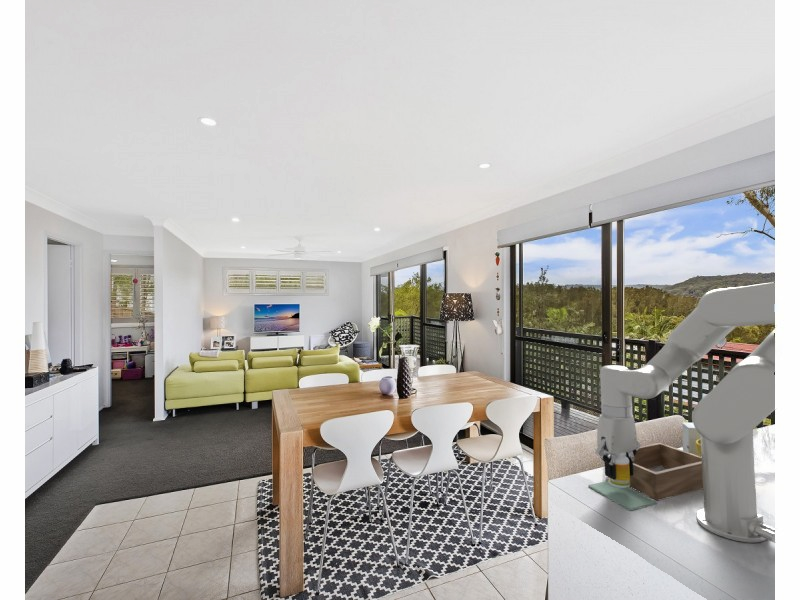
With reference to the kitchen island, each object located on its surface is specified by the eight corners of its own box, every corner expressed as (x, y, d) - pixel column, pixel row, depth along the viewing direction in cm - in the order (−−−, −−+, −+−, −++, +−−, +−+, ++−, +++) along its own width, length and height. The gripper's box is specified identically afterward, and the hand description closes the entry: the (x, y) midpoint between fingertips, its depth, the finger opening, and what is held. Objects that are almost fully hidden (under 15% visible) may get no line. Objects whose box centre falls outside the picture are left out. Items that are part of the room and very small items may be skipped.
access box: (713, 485, 110) (712, 460, 110) (657, 500, 103) (655, 474, 103) (660, 464, 125) (659, 442, 125) (607, 476, 118) (606, 453, 118)
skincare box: (682, 457, 130) (680, 421, 130) (698, 458, 128) (696, 422, 128) (689, 465, 124) (687, 427, 124) (705, 466, 122) (703, 428, 122)
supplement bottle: (634, 488, 104) (633, 452, 105) (614, 488, 105) (613, 452, 105) (623, 479, 110) (622, 445, 110) (604, 479, 110) (603, 445, 110)
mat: (656, 503, 102) (656, 501, 102) (630, 510, 99) (630, 508, 99) (612, 481, 115) (612, 479, 115) (588, 486, 112) (588, 485, 112)
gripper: (628, 403, 114) (630, 465, 113) (581, 410, 108) (584, 475, 108) (651, 410, 106) (654, 475, 106) (603, 418, 101) (606, 487, 101)
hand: (619, 474), depth 107 cm, fingers closed on supplement bottle, 5 cm apart
